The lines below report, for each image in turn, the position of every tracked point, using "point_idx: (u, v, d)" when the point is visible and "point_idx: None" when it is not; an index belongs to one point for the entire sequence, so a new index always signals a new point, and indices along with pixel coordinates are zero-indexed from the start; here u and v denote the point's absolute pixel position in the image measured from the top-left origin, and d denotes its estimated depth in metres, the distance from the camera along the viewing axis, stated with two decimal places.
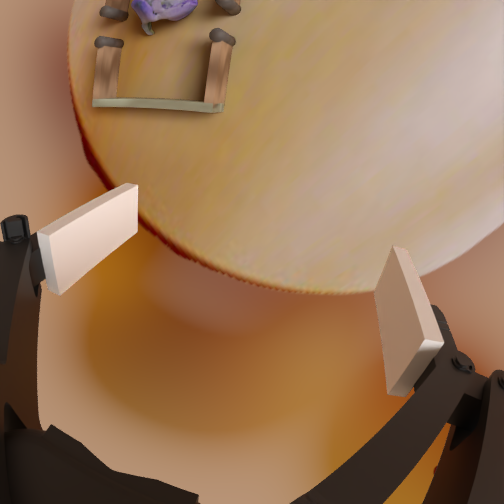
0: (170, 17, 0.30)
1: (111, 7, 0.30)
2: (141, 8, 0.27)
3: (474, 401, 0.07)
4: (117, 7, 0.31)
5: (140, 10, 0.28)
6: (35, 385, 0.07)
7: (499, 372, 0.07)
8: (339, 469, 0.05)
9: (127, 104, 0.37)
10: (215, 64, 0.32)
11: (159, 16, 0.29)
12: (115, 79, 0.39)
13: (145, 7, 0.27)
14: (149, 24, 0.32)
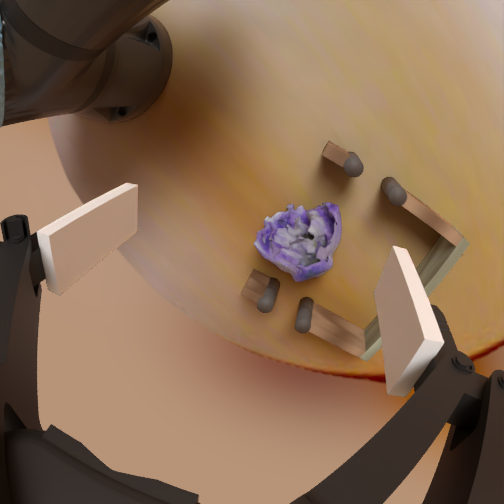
0: (338, 242, 0.30)
1: (263, 296, 0.35)
2: (317, 273, 0.29)
3: (474, 401, 0.07)
4: (264, 288, 0.37)
5: (316, 274, 0.29)
6: (35, 385, 0.07)
7: (499, 372, 0.07)
8: (339, 469, 0.05)
9: None
10: (427, 214, 0.27)
11: (331, 254, 0.30)
12: (346, 323, 0.39)
13: (319, 268, 0.29)
14: None
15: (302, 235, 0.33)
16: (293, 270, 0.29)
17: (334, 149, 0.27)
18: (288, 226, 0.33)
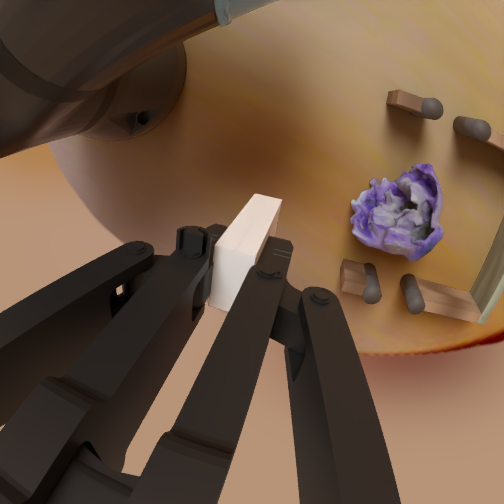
0: (441, 205, 0.23)
1: (367, 285, 0.29)
2: (435, 244, 0.22)
3: (282, 311, 0.10)
4: (364, 276, 0.30)
5: (433, 247, 0.22)
6: (142, 416, 0.07)
7: (311, 289, 0.10)
8: (188, 400, 0.06)
9: None
10: None
11: (438, 220, 0.23)
12: (452, 290, 0.30)
13: (436, 238, 0.22)
14: None
15: (399, 209, 0.26)
16: (411, 248, 0.22)
17: (407, 94, 0.20)
18: (381, 203, 0.26)
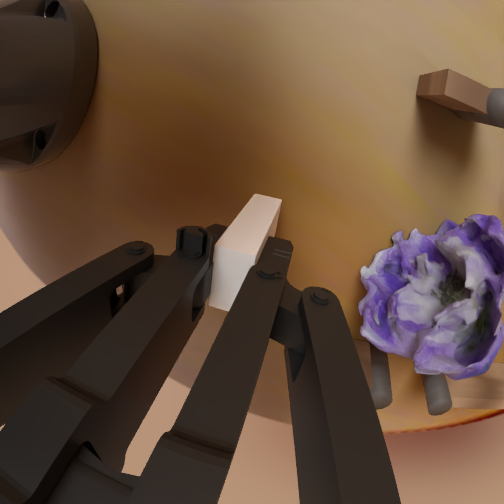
0: None
1: (373, 385, 0.18)
2: None
3: (282, 311, 0.10)
4: (368, 369, 0.19)
5: None
6: (142, 416, 0.07)
7: (311, 289, 0.10)
8: (188, 399, 0.06)
9: None
10: None
11: None
12: None
13: (497, 351, 0.11)
14: None
15: (438, 287, 0.15)
16: (456, 372, 0.11)
17: (462, 78, 0.09)
18: (410, 277, 0.16)
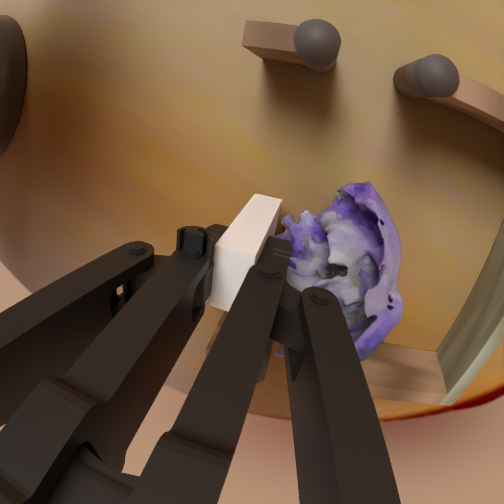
0: None
1: None
2: (379, 343, 0.12)
3: (282, 311, 0.10)
4: None
5: None
6: (143, 416, 0.07)
7: (311, 289, 0.10)
8: (188, 400, 0.06)
9: (498, 340, 0.14)
10: None
11: (394, 287, 0.13)
12: (406, 352, 0.20)
13: (379, 333, 0.12)
14: None
15: (326, 267, 0.16)
16: None
17: (262, 24, 0.10)
18: (294, 260, 0.17)
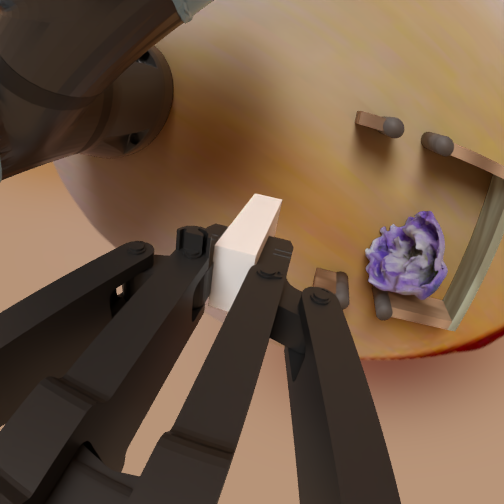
0: (444, 245, 0.26)
1: (336, 292, 0.32)
2: None
3: (282, 311, 0.10)
4: (334, 284, 0.33)
5: (438, 285, 0.25)
6: (142, 416, 0.07)
7: (311, 289, 0.10)
8: (188, 400, 0.06)
9: (479, 283, 0.27)
10: (477, 157, 0.22)
11: (442, 260, 0.26)
12: None
13: (440, 279, 0.25)
14: None
15: (407, 253, 0.29)
16: (419, 291, 0.25)
17: (369, 114, 0.24)
18: (391, 250, 0.30)
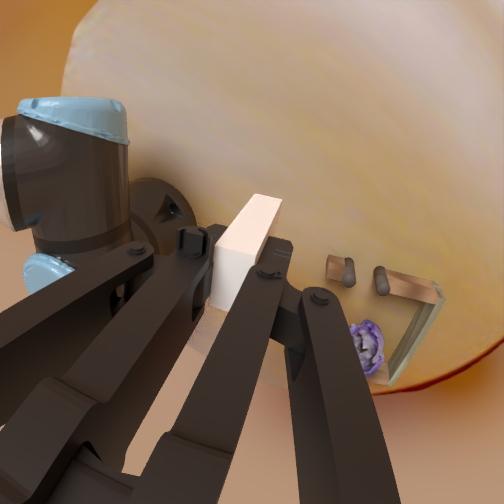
0: (383, 344, 0.43)
1: None
2: (376, 370, 0.42)
3: (282, 311, 0.10)
4: None
5: None
6: (142, 416, 0.07)
7: (311, 289, 0.10)
8: (188, 400, 0.06)
9: (408, 360, 0.44)
10: (408, 292, 0.39)
11: (381, 353, 0.43)
12: None
13: (376, 367, 0.41)
14: None
15: (360, 345, 0.46)
16: None
17: (333, 272, 0.40)
18: None
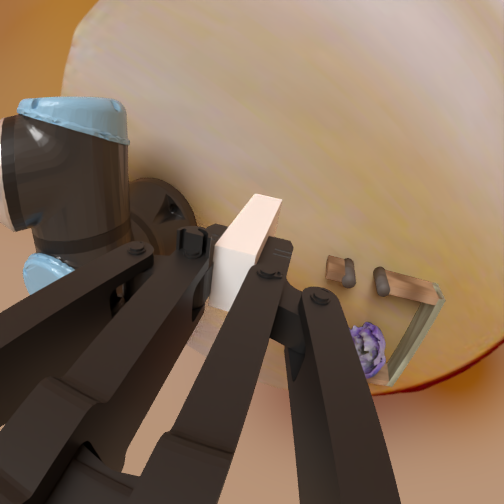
0: None
1: None
2: (377, 372, 0.42)
3: (282, 311, 0.10)
4: None
5: (377, 372, 0.42)
6: (142, 416, 0.07)
7: (311, 289, 0.10)
8: (188, 399, 0.06)
9: (407, 361, 0.44)
10: (408, 293, 0.39)
11: (382, 355, 0.43)
12: None
13: (377, 369, 0.41)
14: None
15: (361, 347, 0.46)
16: None
17: (333, 272, 0.40)
18: None
